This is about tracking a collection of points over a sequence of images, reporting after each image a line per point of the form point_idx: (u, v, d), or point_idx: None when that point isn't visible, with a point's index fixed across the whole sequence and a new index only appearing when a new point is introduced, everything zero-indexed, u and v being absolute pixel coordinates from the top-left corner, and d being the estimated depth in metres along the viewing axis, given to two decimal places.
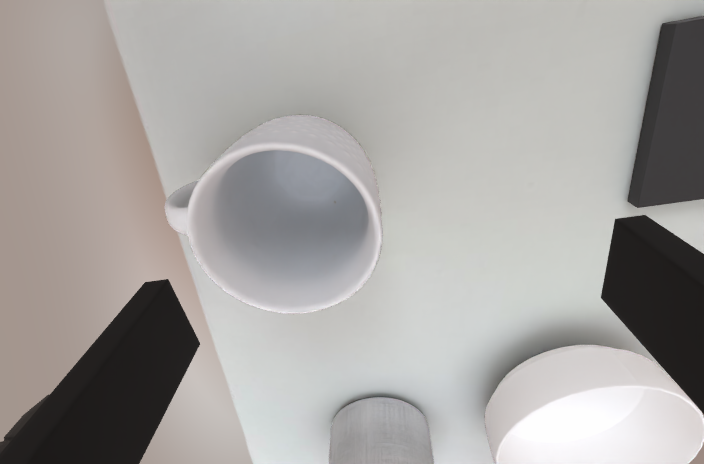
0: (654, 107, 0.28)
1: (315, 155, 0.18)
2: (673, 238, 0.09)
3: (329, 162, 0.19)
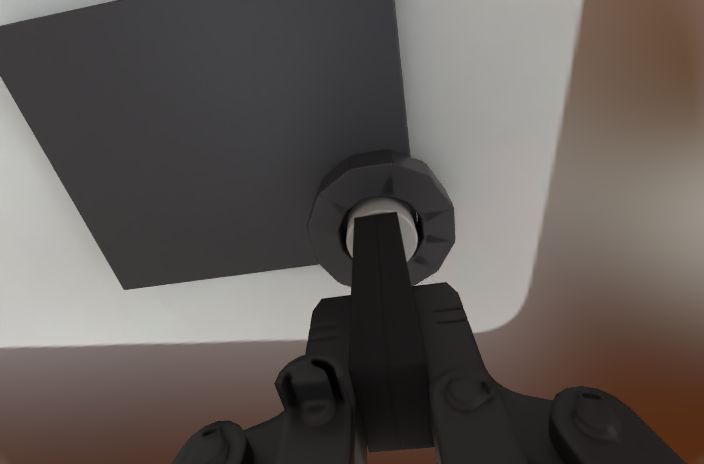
0: None
1: None
2: (396, 229, 0.12)
3: None
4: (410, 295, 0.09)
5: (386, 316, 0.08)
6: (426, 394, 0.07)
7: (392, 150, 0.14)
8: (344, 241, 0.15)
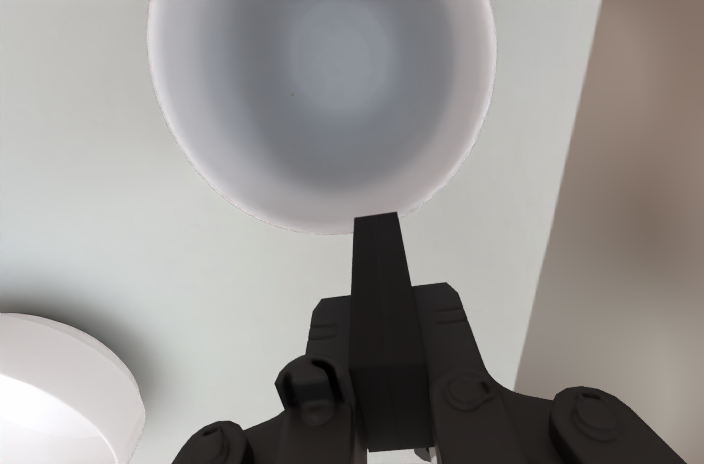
0: None
1: (464, 151, 0.13)
2: (396, 228, 0.12)
3: (450, 169, 0.13)
4: (410, 295, 0.09)
5: (386, 316, 0.08)
6: (426, 394, 0.07)
7: None
8: None
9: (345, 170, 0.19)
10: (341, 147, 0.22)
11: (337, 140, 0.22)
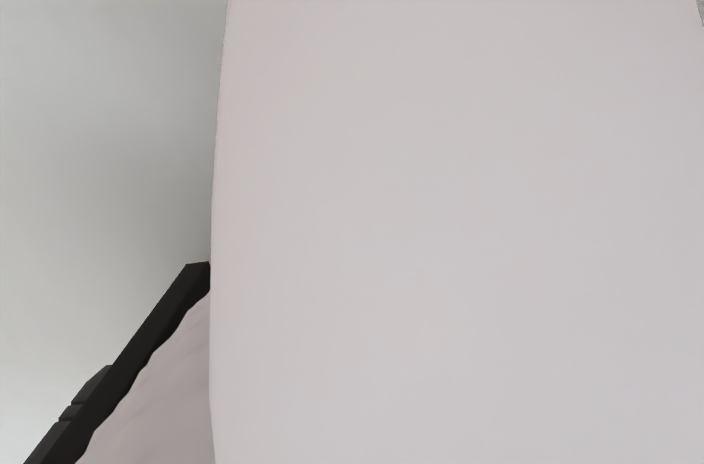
0: None
1: None
2: None
3: None
4: None
5: None
6: None
7: None
8: None
9: None
10: None
11: None
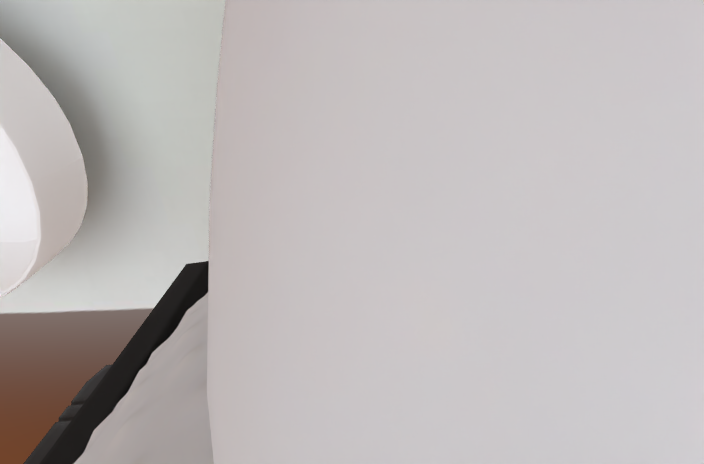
0: None
1: None
2: None
3: None
4: None
5: None
6: None
7: None
8: None
9: None
10: None
11: None
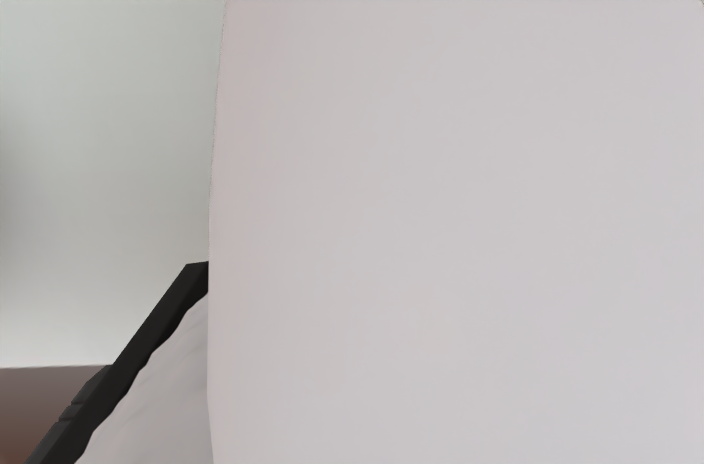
0: None
1: None
2: None
3: None
4: None
5: None
6: None
7: None
8: None
9: None
10: None
11: None
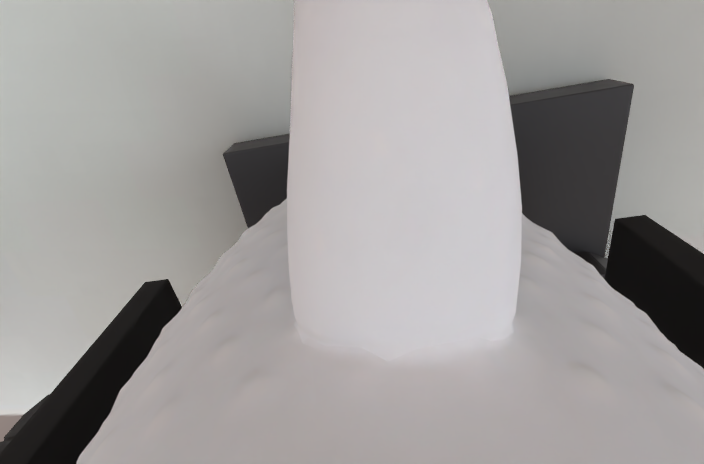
0: None
1: None
2: (673, 238, 0.09)
3: None
4: None
5: None
6: None
7: (590, 252, 0.15)
8: None
9: None
10: None
11: None
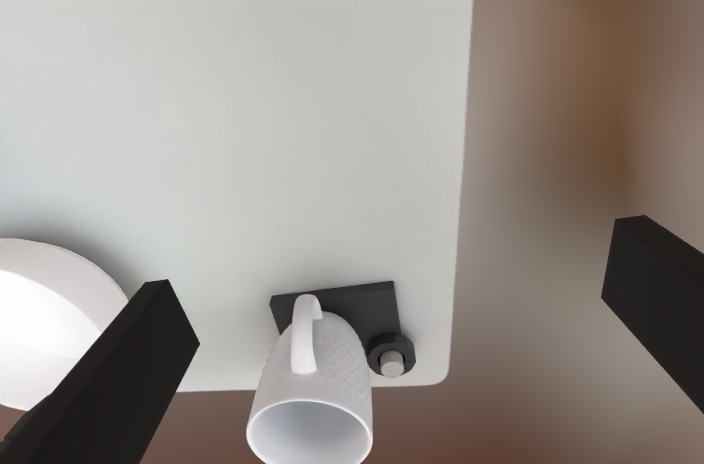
0: (342, 292, 0.41)
1: (365, 455, 0.33)
2: (673, 238, 0.09)
3: (360, 459, 0.33)
4: None
5: None
6: None
7: (395, 333, 0.43)
8: (378, 360, 0.44)
9: (324, 414, 0.40)
10: None
11: None
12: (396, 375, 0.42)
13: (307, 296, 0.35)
